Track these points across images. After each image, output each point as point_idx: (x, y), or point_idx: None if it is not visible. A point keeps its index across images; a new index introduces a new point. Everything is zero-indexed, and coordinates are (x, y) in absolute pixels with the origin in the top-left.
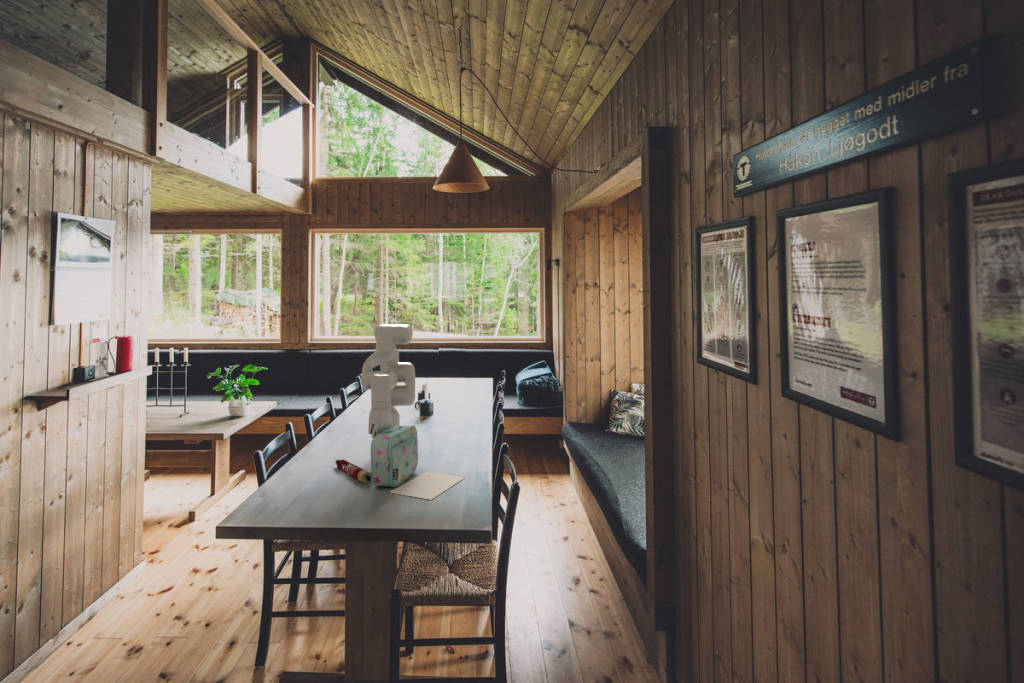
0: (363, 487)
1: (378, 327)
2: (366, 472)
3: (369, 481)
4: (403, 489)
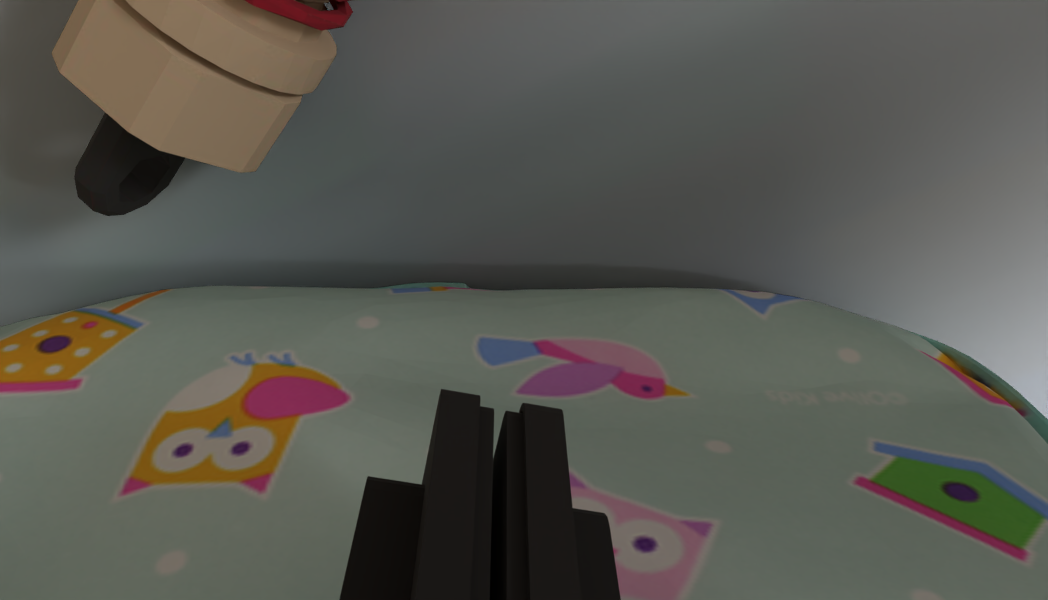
0: (2, 125)
1: None
2: (129, 126)
3: (144, 167)
4: None
